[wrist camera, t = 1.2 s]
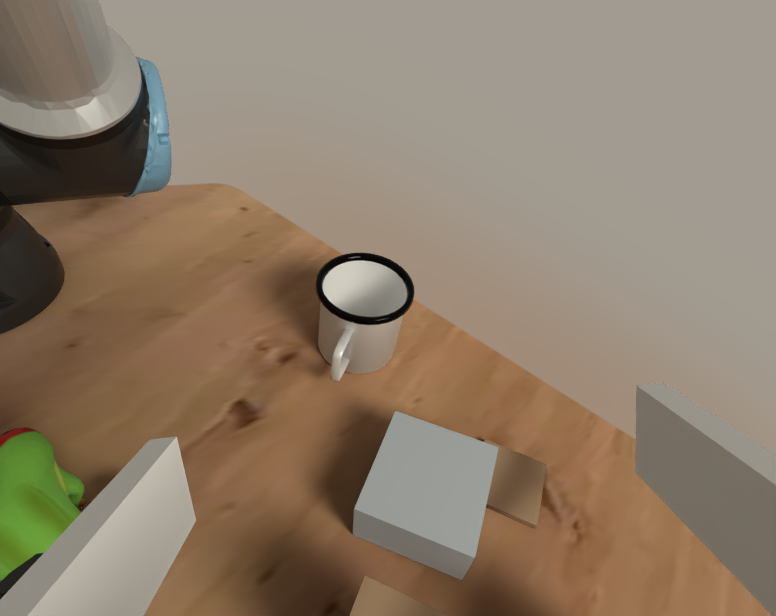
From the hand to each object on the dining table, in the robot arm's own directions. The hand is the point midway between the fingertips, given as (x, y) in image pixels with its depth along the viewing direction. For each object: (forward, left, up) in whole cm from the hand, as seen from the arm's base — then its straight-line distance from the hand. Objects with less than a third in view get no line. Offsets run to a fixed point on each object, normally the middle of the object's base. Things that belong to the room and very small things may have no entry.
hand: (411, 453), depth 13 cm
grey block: (-9, +6, -27) cm, 29 cm away
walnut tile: (-12, +14, -27) cm, 33 cm away
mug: (-25, -1, -27) cm, 37 cm away
